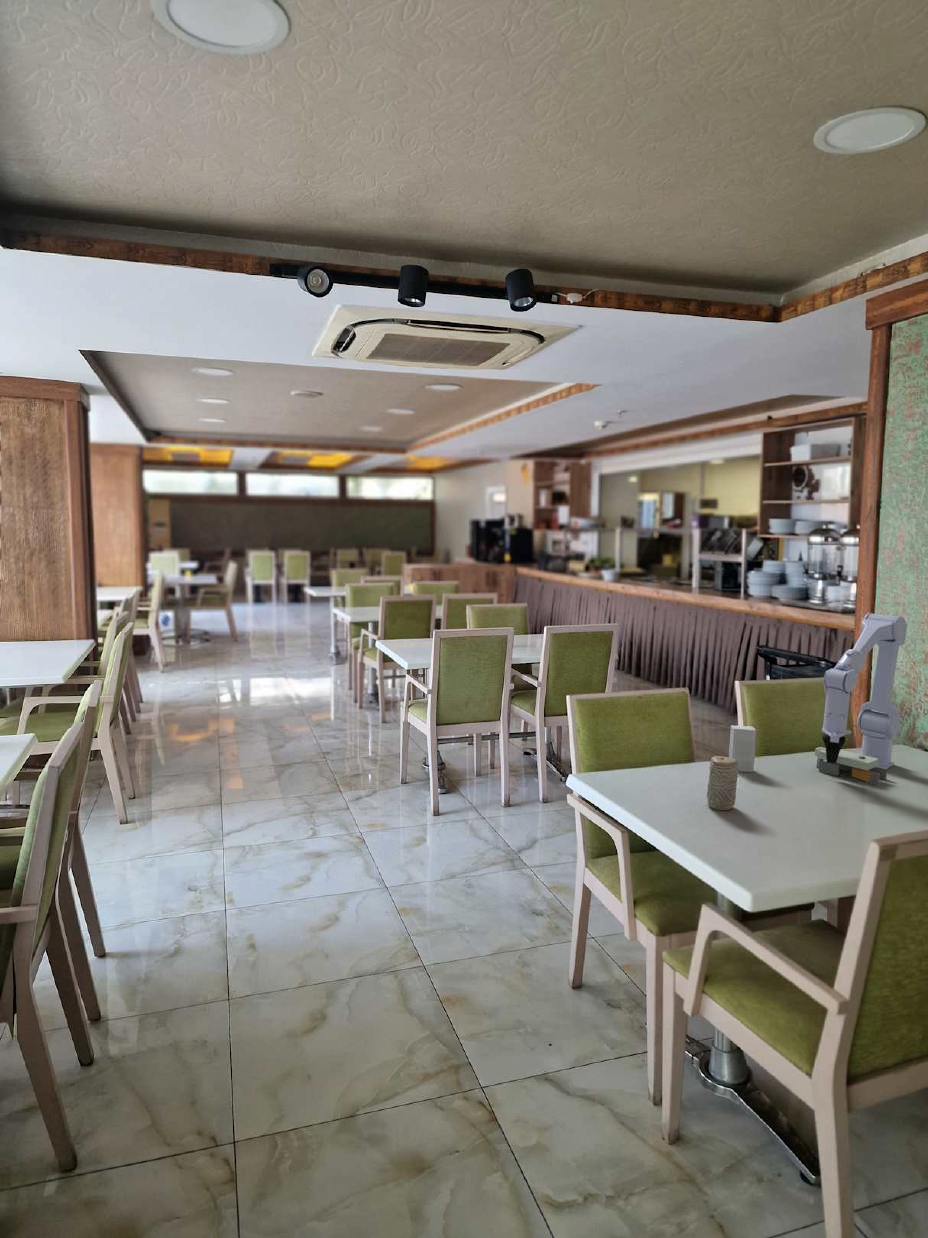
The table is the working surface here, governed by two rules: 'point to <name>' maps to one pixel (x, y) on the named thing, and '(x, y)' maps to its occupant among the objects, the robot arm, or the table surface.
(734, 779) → the carving
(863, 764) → the cover
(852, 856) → the table surface
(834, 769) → the long grey beam
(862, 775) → the orange cuboid brick
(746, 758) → the skincare box
